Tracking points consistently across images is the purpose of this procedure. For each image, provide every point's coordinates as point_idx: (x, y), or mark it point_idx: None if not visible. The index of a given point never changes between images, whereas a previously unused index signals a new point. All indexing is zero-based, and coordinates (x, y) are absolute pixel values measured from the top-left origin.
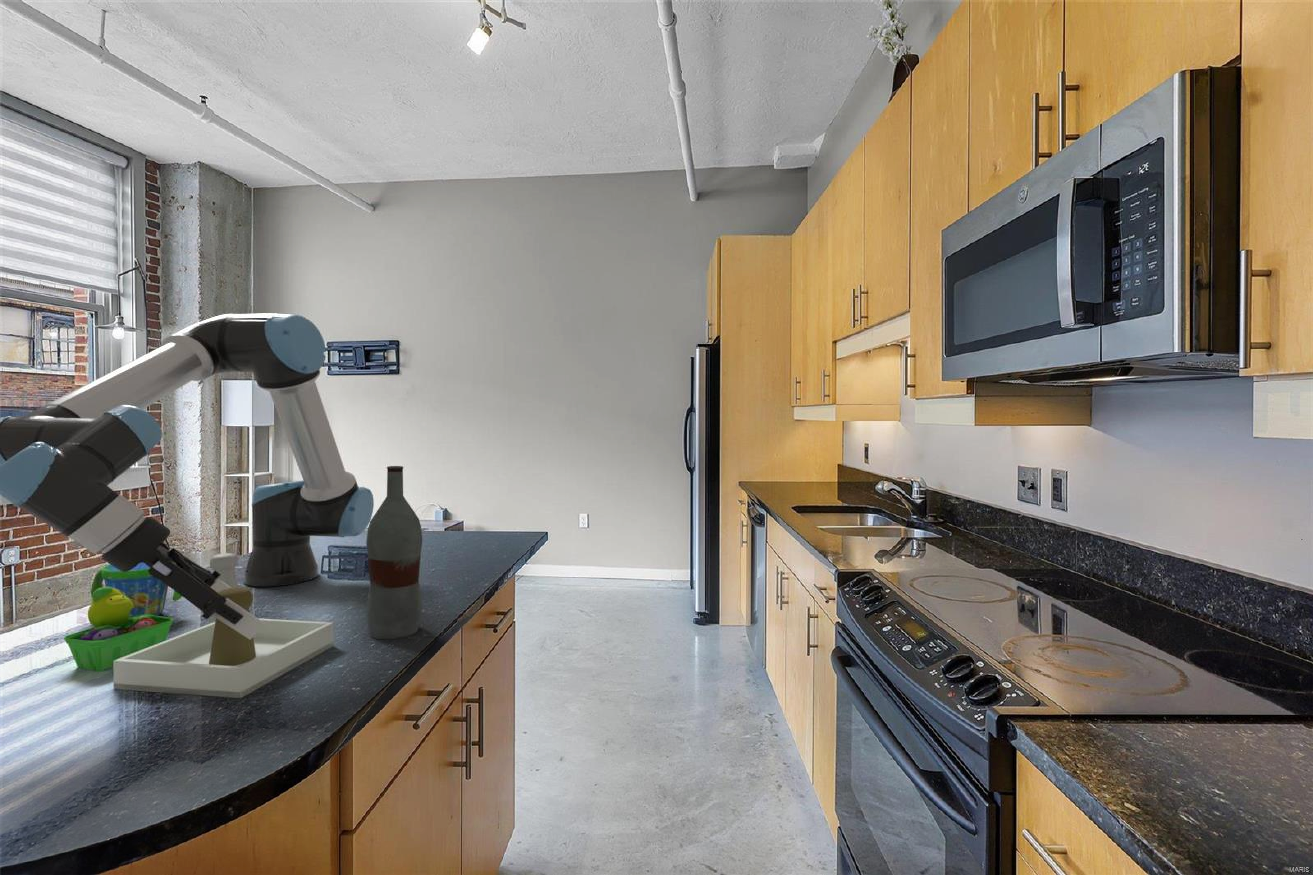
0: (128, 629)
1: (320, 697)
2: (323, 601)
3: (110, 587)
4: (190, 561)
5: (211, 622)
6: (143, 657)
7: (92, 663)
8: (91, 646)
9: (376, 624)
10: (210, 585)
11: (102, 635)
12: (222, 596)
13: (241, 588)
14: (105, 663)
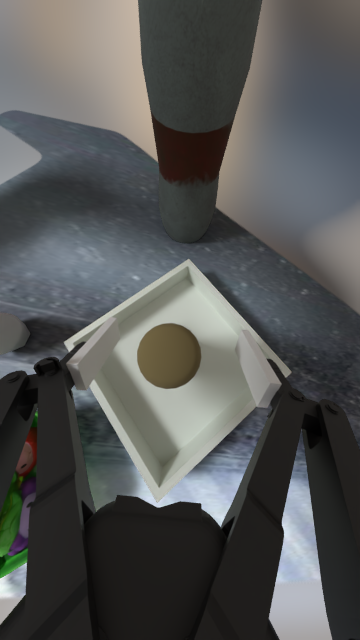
0: (18, 474)
1: (308, 318)
2: (26, 237)
3: None
4: (77, 492)
5: (12, 350)
6: (145, 456)
7: None
8: None
9: (199, 230)
10: (71, 378)
11: None
12: (298, 398)
13: (171, 338)
14: None
